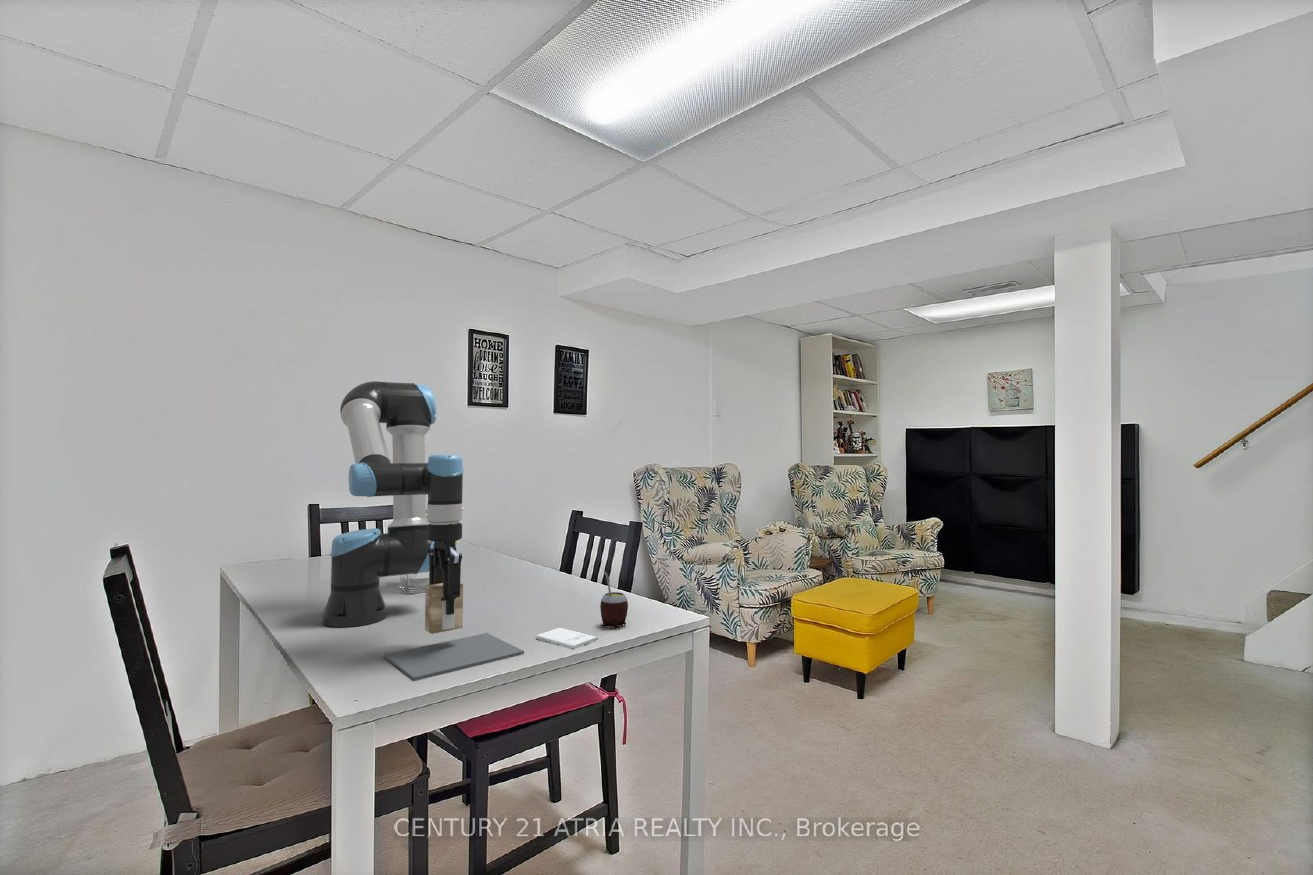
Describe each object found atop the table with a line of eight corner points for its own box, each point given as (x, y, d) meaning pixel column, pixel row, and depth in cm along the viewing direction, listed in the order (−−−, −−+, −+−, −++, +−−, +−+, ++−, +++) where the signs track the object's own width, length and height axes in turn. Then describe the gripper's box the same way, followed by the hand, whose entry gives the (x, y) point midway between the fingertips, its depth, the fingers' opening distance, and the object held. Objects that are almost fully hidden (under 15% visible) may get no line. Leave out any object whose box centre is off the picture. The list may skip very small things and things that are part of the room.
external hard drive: (560, 633, 151) (598, 642, 144) (536, 641, 144) (574, 651, 137) (560, 627, 151) (598, 635, 144) (536, 634, 145) (574, 644, 137)
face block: (425, 630, 136) (425, 585, 137) (455, 624, 141) (455, 581, 141) (432, 633, 133) (432, 588, 134) (462, 627, 138) (463, 583, 138)
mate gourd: (623, 620, 160) (623, 563, 161) (632, 629, 153) (632, 569, 153) (595, 623, 158) (596, 565, 158) (603, 631, 151) (603, 571, 151)
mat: (383, 657, 131) (383, 654, 131) (486, 635, 147) (487, 632, 147) (414, 680, 118) (414, 677, 118) (524, 653, 134) (524, 650, 134)
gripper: (477, 524, 134) (476, 631, 133) (445, 518, 147) (444, 615, 146) (443, 527, 129) (442, 637, 128) (414, 520, 142) (413, 621, 141)
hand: (443, 626), depth 137 cm, fingers closed on face block, 4 cm apart
